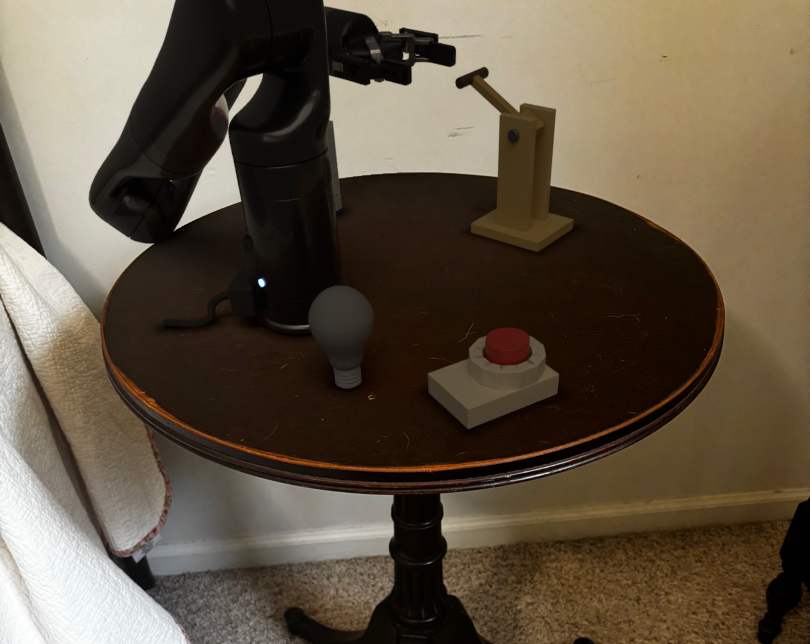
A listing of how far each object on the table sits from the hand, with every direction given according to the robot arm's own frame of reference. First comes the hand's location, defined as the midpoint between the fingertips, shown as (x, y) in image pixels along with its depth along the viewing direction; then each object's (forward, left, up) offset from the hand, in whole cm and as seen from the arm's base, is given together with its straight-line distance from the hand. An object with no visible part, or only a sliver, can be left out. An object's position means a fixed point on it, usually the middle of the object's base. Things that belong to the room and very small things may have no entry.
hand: (432, 66), depth 96 cm
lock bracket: (+12, -7, -17) cm, 22 cm away
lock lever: (+8, -5, -4) cm, 11 cm away
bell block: (+12, -43, -17) cm, 48 cm away
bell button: (+13, -42, -13) cm, 46 cm away
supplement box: (-16, -4, -17) cm, 24 cm away
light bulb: (-2, -43, -17) cm, 46 cm away
